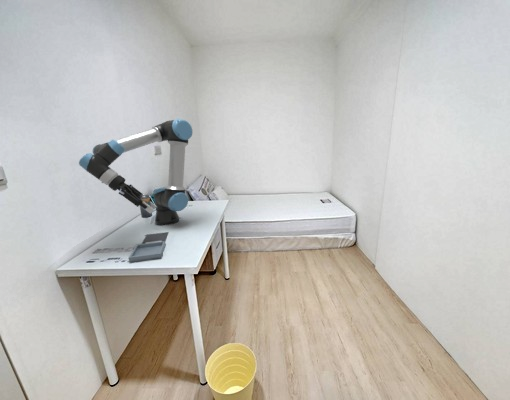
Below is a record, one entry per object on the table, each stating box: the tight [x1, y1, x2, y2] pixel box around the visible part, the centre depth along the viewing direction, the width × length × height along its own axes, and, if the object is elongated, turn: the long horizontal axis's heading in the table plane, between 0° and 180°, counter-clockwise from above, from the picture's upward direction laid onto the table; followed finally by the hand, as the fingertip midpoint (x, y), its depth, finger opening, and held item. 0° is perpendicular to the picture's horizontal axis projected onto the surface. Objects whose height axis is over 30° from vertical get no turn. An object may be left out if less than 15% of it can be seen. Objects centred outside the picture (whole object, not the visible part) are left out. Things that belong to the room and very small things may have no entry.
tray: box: [128, 241, 167, 263], centre depth 112 cm, size 14×14×2 cm
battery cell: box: [138, 193, 153, 219], centre depth 119 cm, size 5×5×12 cm
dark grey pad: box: [141, 231, 170, 244], centre depth 128 cm, size 14×12×1 cm
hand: (153, 209), depth 120 cm, fingers closed on battery cell, 5 cm apart
